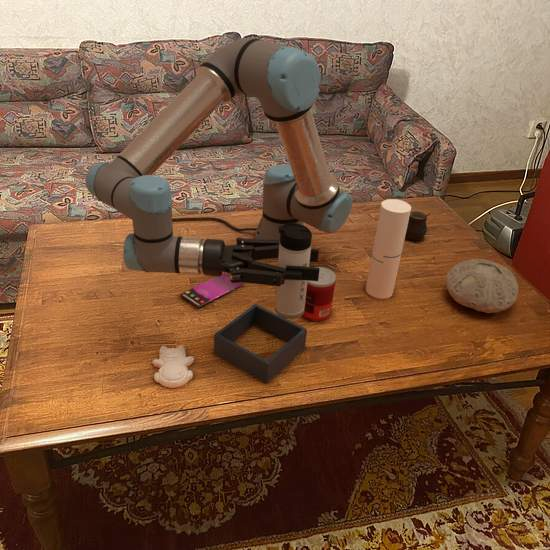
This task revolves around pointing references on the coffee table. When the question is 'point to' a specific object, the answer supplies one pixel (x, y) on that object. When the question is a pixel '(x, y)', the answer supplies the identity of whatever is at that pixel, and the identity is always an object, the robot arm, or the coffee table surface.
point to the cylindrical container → (387, 247)
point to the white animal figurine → (173, 367)
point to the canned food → (320, 296)
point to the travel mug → (293, 254)
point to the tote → (249, 360)
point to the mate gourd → (416, 225)
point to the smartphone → (210, 290)
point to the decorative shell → (482, 285)
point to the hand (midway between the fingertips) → (318, 264)
